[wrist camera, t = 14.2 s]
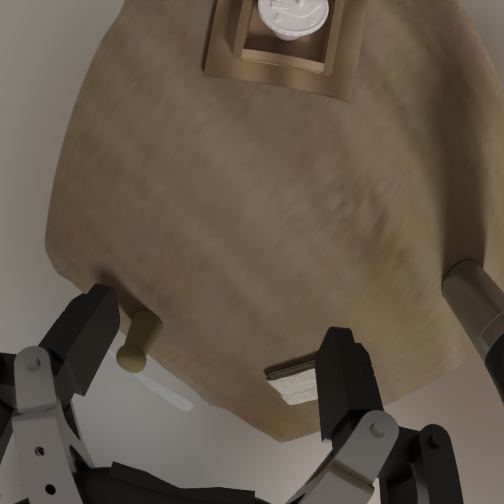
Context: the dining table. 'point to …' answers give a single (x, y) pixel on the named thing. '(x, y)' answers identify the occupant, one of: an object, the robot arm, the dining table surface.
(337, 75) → the open wooden box
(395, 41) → the dining table surface
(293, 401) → the washcloth
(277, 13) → the smoothie
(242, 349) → the dining table surface
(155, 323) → the cork
